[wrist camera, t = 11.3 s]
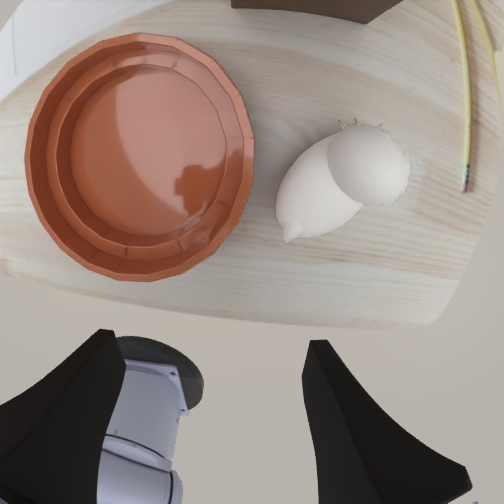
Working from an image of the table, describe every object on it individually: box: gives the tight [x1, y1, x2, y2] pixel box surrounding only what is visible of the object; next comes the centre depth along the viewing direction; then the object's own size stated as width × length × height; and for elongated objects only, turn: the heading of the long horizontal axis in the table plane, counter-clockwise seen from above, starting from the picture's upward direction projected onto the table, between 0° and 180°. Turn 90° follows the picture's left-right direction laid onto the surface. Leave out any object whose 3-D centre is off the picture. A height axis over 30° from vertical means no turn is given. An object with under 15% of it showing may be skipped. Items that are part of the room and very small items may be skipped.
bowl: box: [24, 33, 255, 282], centre depth 14 cm, size 13×13×4 cm
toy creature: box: [275, 118, 411, 244], centre depth 13 cm, size 5×8×6 cm, turn 138°
